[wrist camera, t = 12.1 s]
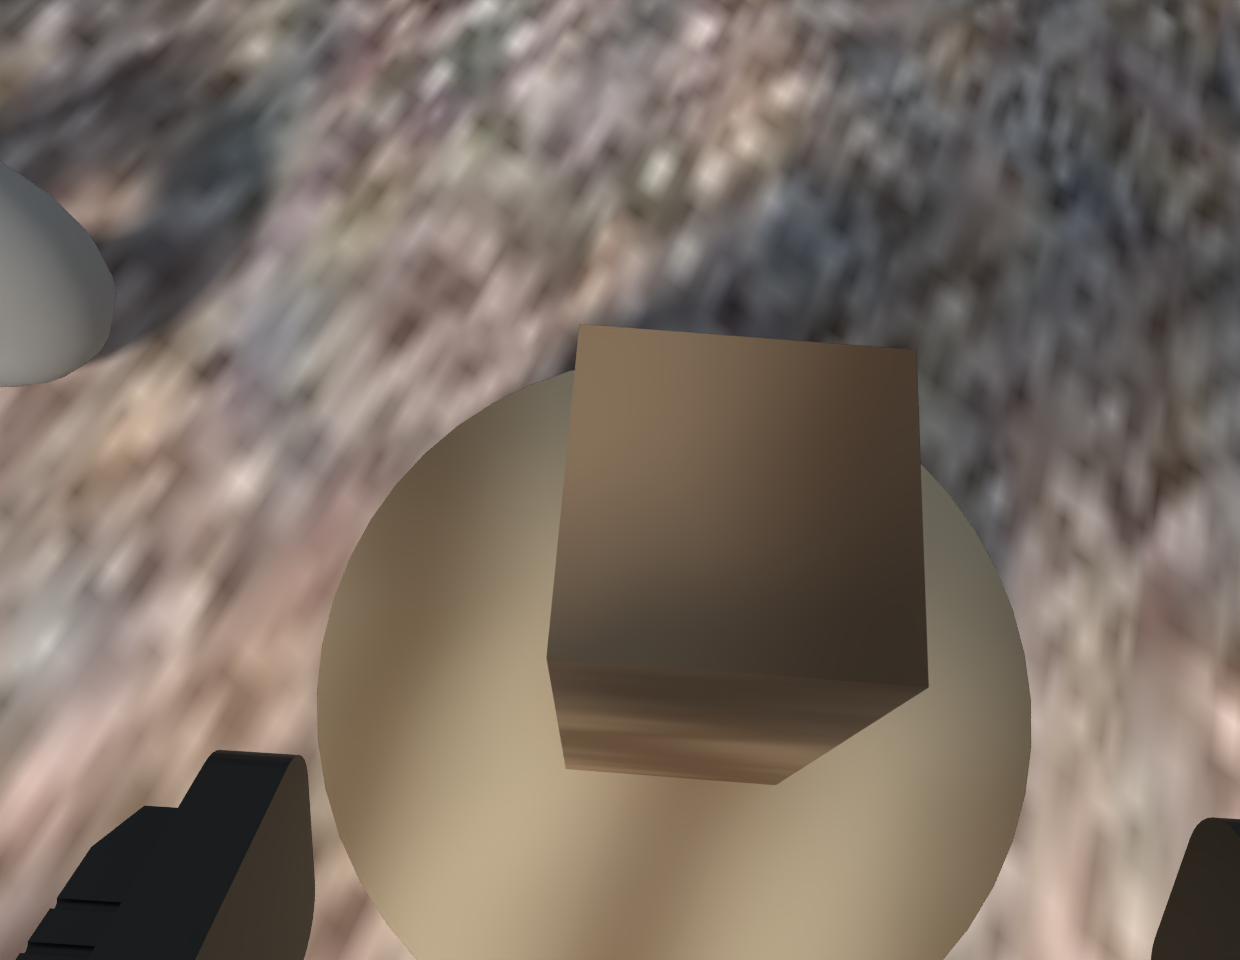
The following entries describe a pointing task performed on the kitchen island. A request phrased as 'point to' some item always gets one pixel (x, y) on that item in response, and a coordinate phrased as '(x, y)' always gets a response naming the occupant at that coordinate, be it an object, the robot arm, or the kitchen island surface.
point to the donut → (47, 287)
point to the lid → (678, 669)
